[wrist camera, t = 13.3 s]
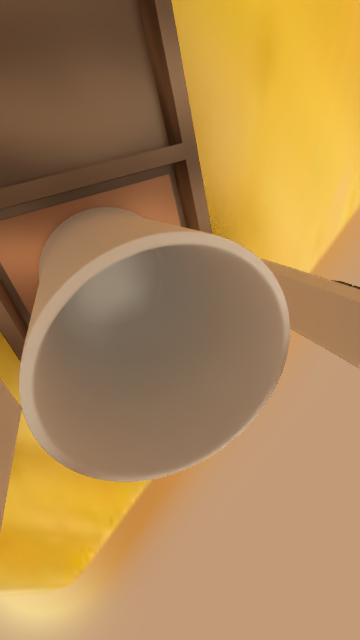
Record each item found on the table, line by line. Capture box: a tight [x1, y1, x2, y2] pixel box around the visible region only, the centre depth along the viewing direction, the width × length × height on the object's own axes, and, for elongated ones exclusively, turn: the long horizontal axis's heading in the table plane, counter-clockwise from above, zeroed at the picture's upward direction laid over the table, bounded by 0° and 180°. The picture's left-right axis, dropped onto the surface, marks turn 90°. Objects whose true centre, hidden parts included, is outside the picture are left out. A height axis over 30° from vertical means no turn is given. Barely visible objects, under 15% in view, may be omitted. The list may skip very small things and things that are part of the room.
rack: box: [0, 0, 212, 362], centre depth 15 cm, size 30×14×3 cm, turn 14°
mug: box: [19, 207, 290, 482], centre depth 14 cm, size 12×8×12 cm
